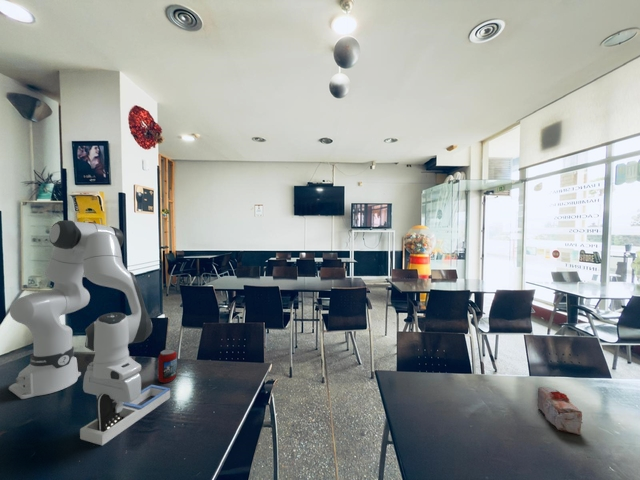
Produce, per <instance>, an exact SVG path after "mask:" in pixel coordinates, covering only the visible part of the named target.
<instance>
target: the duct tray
mask: <svg viewBox="0 0 640 480" xmlns="http://www.w3.org/2000/svg"><path fill="white" fill-rule="evenodd" d="M151 396H152V398H151V399H149V400H148V401H146V402H145V403H143V404H142V405H140V403H142V402H143V401H145V400H147V399H148V398H150V397H151ZM170 398H171V388H170V387H165V386H159V385H155V384H150V385H148V386H147V387H144V388H143V389H141V394H140V396H139V397H138V398H137V399H135V400H134V401H132V402H130V403H125V402H124V404H123V409H122V411H120V412H119V414H120V416H121V418H122V417H123V419H121V421H120V422H118V423H116V424H115V425H113V426H112V427H110V428H109V429H107V430H106V431H104V432H101V431H98V420H97V418H96V419H94V420H93V421H91V422H89V423H88V424H86V425H84V426H83V427H81V428H79V436H80V437H79V439H80V440H82V441H85V442H90V443H93V444H96V445H100V446H105V444H107V443H108V442H110V441H111V440H112V439H113V438H115V437H117V436H118V435H119V434H121V433H122V432H123V431H125V430H126V429H128V428H129V427H131V426H132V425H134V424H135V423H136V422H138V421H139V420H141V419H142V418H144V417H145V416H146V415H148V414H149V413H151V412H152V411H153V410H155V409H156V408H158V407H159V406H161V405H162V404H163V403H164V402H166V401H168V400H169V399H170Z"/></svg>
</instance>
